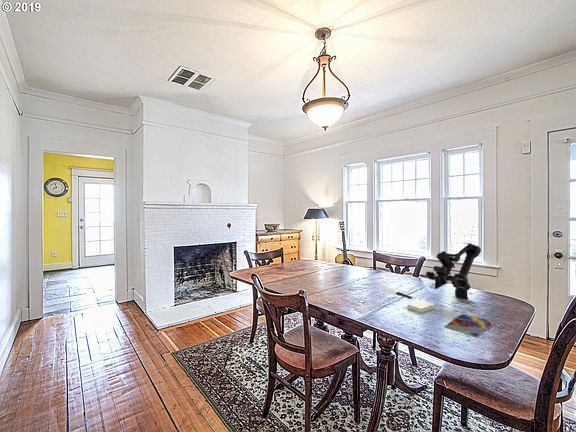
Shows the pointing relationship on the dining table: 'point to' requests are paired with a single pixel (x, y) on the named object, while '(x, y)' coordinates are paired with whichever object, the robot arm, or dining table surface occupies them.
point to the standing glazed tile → (421, 306)
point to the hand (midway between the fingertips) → (435, 288)
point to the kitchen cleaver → (393, 291)
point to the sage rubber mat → (425, 311)
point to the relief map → (470, 325)
